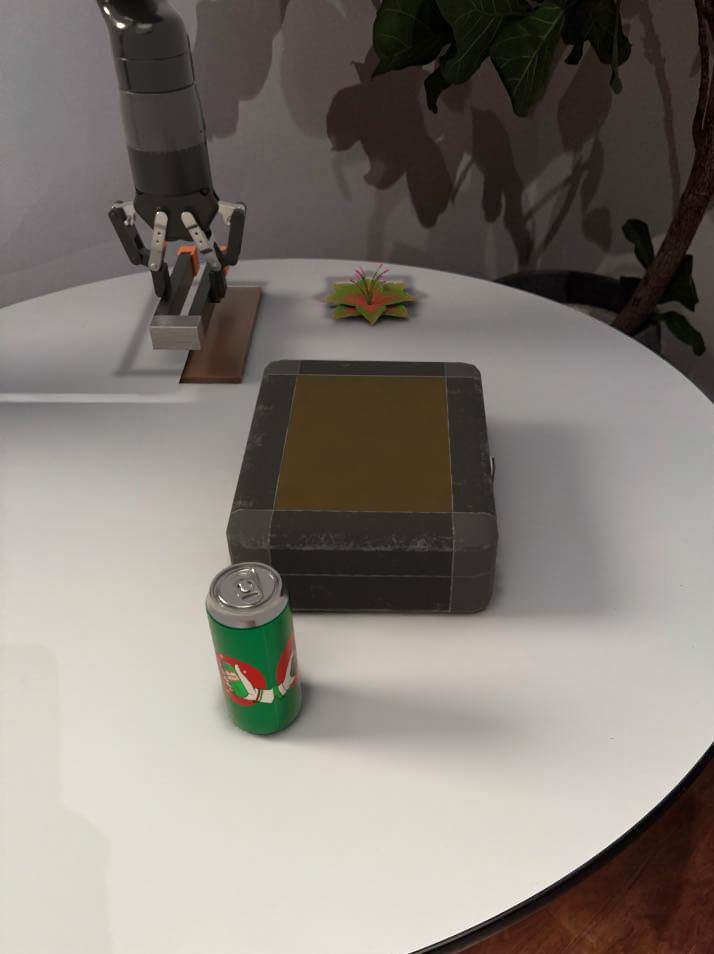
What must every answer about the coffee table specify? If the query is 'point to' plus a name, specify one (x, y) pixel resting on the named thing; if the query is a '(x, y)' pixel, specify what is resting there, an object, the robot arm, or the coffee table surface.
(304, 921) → the coffee table surface
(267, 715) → the soda can
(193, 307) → the tongs
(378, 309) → the lily flower
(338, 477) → the cash box
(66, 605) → the coffee table surface
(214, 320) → the board
